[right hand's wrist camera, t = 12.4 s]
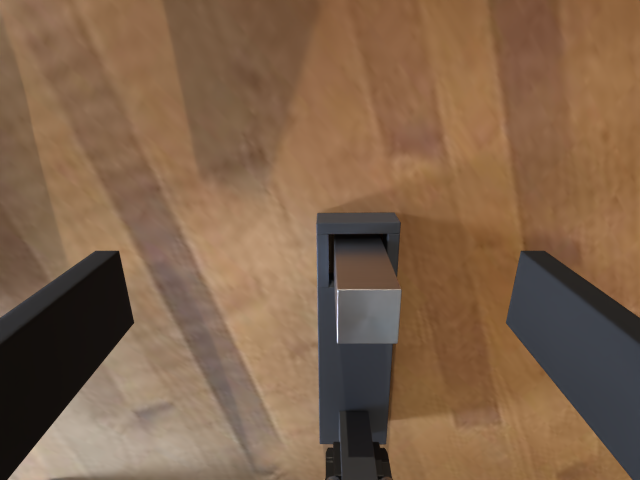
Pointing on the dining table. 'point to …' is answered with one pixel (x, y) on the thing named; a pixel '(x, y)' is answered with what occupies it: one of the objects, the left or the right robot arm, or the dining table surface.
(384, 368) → the peg board
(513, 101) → the dining table surface
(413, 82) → the dining table surface
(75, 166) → the dining table surface
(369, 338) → the peg
